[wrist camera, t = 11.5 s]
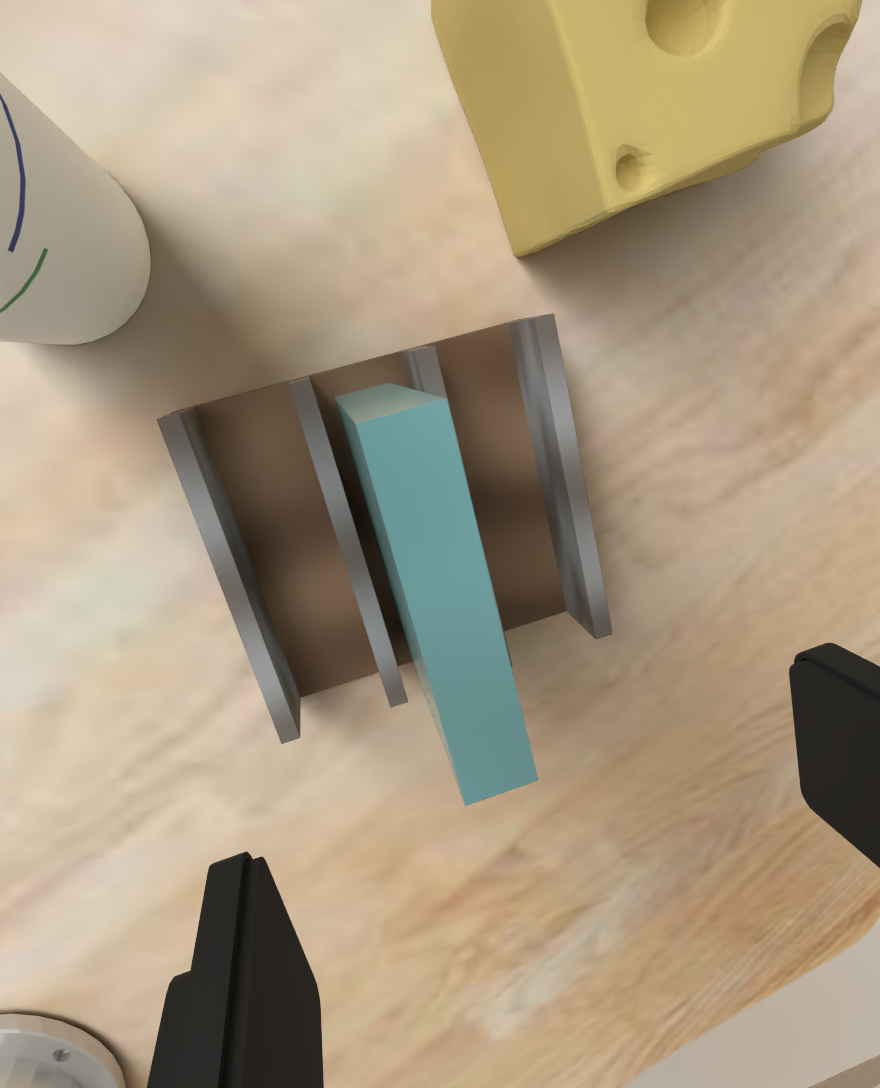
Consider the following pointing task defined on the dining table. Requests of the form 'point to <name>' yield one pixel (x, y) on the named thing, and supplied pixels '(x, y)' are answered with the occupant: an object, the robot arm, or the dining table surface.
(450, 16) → the cheese
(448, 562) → the teal slab
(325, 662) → the rack
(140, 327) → the dining table surface
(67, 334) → the cylindrical container
